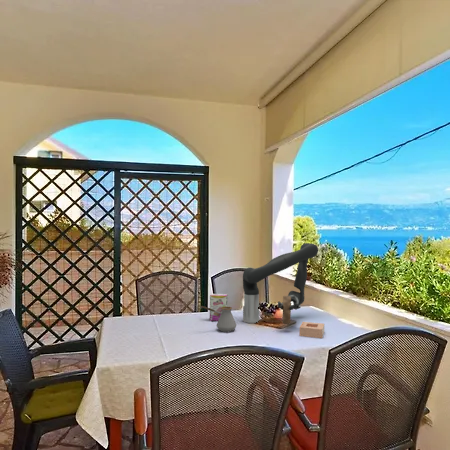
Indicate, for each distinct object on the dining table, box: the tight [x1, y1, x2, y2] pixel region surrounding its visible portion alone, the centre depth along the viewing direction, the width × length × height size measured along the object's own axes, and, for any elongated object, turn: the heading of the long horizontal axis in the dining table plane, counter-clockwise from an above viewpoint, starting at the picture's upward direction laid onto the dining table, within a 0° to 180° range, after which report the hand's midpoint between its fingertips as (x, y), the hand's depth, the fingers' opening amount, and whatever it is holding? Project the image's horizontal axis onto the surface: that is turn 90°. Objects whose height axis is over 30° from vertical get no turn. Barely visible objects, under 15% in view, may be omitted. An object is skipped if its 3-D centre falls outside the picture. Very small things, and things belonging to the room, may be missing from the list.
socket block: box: [298, 321, 325, 339], centre depth 207 cm, size 12×12×5 cm
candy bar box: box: [209, 293, 229, 322], centre depth 236 cm, size 11×5×16 cm, turn 84°
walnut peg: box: [282, 295, 292, 325], centre depth 213 cm, size 4×4×15 cm
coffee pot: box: [199, 305, 237, 333], centre depth 214 cm, size 21×12×15 cm, turn 109°
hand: (285, 308), depth 210 cm, fingers closed on walnut peg, 4 cm apart
